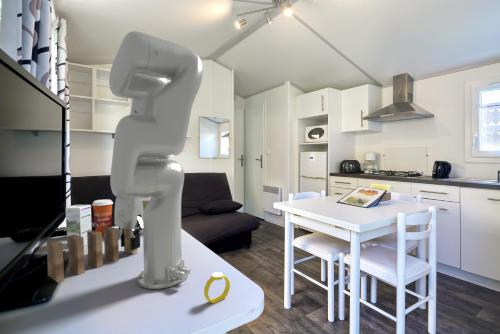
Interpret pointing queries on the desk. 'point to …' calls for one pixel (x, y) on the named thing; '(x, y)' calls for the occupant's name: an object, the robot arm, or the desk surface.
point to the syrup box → (78, 221)
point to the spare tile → (128, 242)
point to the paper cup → (102, 214)
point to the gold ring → (213, 277)
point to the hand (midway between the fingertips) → (130, 246)
